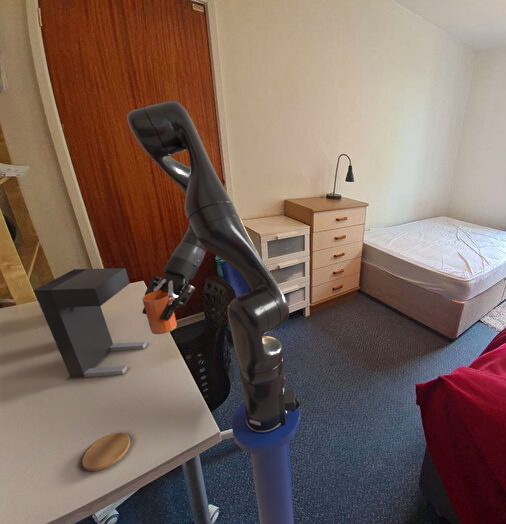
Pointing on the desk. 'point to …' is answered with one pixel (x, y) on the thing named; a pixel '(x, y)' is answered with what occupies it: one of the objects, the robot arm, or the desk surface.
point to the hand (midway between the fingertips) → (154, 317)
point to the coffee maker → (83, 318)
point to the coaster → (106, 452)
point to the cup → (158, 312)
